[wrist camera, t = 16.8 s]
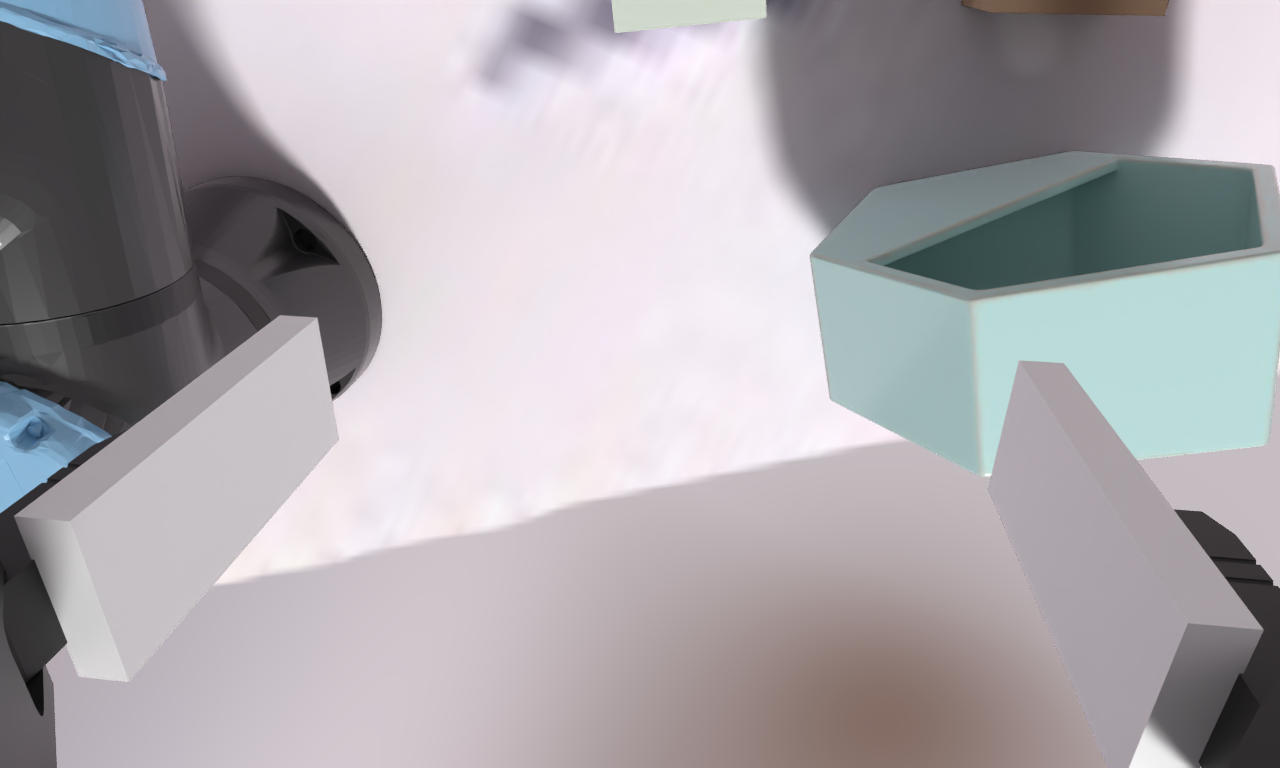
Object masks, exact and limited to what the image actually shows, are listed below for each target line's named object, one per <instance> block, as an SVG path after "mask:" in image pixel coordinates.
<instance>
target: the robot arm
mask: <svg viewBox="0 0 1280 768" xmlns="http://www.w3.org/2000/svg"><path fill="white" fill-rule="evenodd" d="M163 81H167V78H166V73H165V71H164V69H163V68H162V66H160V65H159V64H158V63H157V59H156V55H155V51H154V47H153V42H152V38H151V34H150V30H149V26H148V22H147V18H146V14H145V10H144V6H143V1H142V0H0V768H57V761H56V737H55V716H54V715H55V713H54V689H53V682H52V680H51V678H50V675H49V673H48V670H47V668H46V666H45V665H46V664H47V663H48V661H50V659H52V658H53V657H54V656H55V655H56V654H57V653H58V652H59V651H60V650H61V648H63V647H64V646H65V645H66V647H67V649H68V651H69V654H70V656H71V659H72V661H73V663H74V666H75V669H76V671H77V674H78V676H79V677H88V678H97V679H107V680H115V681H124V682H130V681H131V679H132V678H133V677H134V676H135V675H136V674H137V672H138V671H139V670H140V669H141V668H142V667H143V665H144V664H145V663H146V662H147V661H148V660H149V659H150V657H151V656H152V655H153V654H154V653H155V652H156V650H157V649H158V648H159V647H160V646H161V645H162V643H163V642H164V641H165V640H166V639H167V638H168V636H169V635H170V634H171V633H172V632H173V631H174V630H175V628H176V627H177V626H178V625H179V624H180V623H181V621H182V620H183V619H184V618H185V617H186V616H187V615H188V613H189V612H190V611H191V610H192V609H193V608H194V606H195V605H196V604H197V603H198V602H199V601H200V600H201V598H202V597H203V596H204V595H205V594H206V593H207V591H208V590H209V589H210V588H211V587H212V586H213V585H214V583H215V582H216V581H217V580H218V579H219V578H220V576H221V575H222V574H223V573H224V572H225V571H226V569H227V568H228V567H229V566H230V565H231V564H232V563H233V561H234V560H235V559H236V558H237V557H238V556H239V554H240V553H241V552H242V551H243V550H244V549H245V547H246V546H247V545H248V544H249V543H250V542H251V541H252V539H253V538H254V537H255V536H256V535H257V534H258V532H259V531H260V530H261V529H262V528H263V527H264V525H265V524H266V523H267V522H268V521H269V520H270V519H271V517H272V516H273V515H274V514H275V513H276V512H277V510H278V509H279V508H280V507H281V506H282V505H283V504H284V502H285V501H286V500H287V499H288V498H289V497H290V495H291V494H292V493H293V492H294V491H295V490H296V488H297V487H298V486H299V485H300V484H301V483H302V482H303V480H304V479H305V478H306V477H307V476H308V475H309V473H310V472H311V471H312V470H313V469H314V468H315V466H316V465H317V464H318V463H319V462H320V461H321V460H322V458H323V457H324V456H325V455H326V454H327V453H328V451H329V450H330V449H331V448H332V447H333V446H334V444H335V443H336V442H337V441H338V440H339V437H338V431H337V425H336V420H335V414H334V409H333V403H332V401H334V400H335V399H337V398H338V397H339V396H341V395H342V394H343V393H344V392H345V391H346V390H347V389H348V388H349V387H350V386H351V385H352V384H353V383H354V382H355V381H356V380H357V379H358V378H359V377H360V376H361V375H362V373H363V372H364V371H365V370H366V368H367V367H368V365H369V364H370V362H371V360H372V359H373V357H374V354H375V352H376V350H377V346H378V343H379V339H380V335H381V328H382V309H381V301H380V295H379V291H378V287H377V284H376V281H375V278H374V275H373V273H372V270H371V268H370V266H369V264H368V262H367V260H366V258H365V256H364V254H363V253H362V251H361V250H360V248H359V246H358V245H357V243H356V242H355V241H354V239H353V238H352V237H351V235H350V234H349V233H348V232H347V231H346V230H345V228H344V227H343V226H342V225H341V224H340V223H339V222H338V221H337V220H336V219H335V218H334V217H333V216H331V215H330V214H329V213H328V212H327V211H326V210H324V209H323V208H322V207H320V206H319V205H318V204H316V203H315V202H313V201H312V200H310V199H309V198H307V197H305V196H304V195H302V194H300V193H298V192H296V191H294V190H292V189H290V188H288V187H285V186H282V185H280V184H277V183H274V182H270V181H267V180H262V179H257V178H250V177H224V178H218V179H214V180H210V181H206V182H204V183H201V184H198V185H196V186H194V187H191V188H189V189H186V190H184V191H183V188H182V182H181V177H180V171H179V166H178V161H177V155H176V150H175V145H174V139H173V134H172V128H171V123H170V118H169V112H168V107H167V102H166V96H165V91H164V85H163ZM988 491H989V493H990V495H991V498H992V500H993V502H994V505H995V507H996V509H997V512H998V514H999V516H1000V519H1001V521H1002V523H1003V526H1004V528H1005V530H1006V533H1007V535H1008V537H1009V539H1010V542H1011V544H1012V547H1013V549H1014V551H1015V553H1016V556H1017V558H1018V561H1019V562H1020V565H1021V567H1022V570H1023V572H1024V574H1025V577H1026V579H1027V581H1028V583H1029V586H1030V588H1031V590H1032V593H1033V595H1034V597H1035V600H1036V602H1037V604H1038V607H1039V609H1040V612H1041V614H1042V616H1043V619H1044V621H1045V623H1046V626H1047V628H1048V630H1049V633H1050V635H1051V637H1052V639H1053V642H1054V644H1055V647H1056V649H1057V651H1058V653H1059V656H1060V658H1061V660H1062V663H1063V665H1064V667H1065V670H1066V672H1067V674H1068V677H1069V679H1070V681H1071V684H1072V686H1073V688H1074V691H1075V693H1076V695H1077V697H1078V700H1079V702H1080V705H1081V707H1082V709H1083V711H1084V714H1085V716H1086V719H1087V721H1088V723H1089V726H1090V728H1091V730H1092V733H1093V735H1094V737H1095V739H1096V742H1097V744H1098V746H1099V749H1100V751H1101V753H1102V756H1103V758H1104V760H1105V763H1106V765H1107V767H1108V768H1200V766H1201V767H1202V768H1280V588H1279V587H1278V586H1273V580H1272V579H1271V578H1270V576H1269V575H1268V574H1267V573H1266V571H1265V570H1264V569H1263V568H1262V567H1261V565H1256V559H1255V558H1254V557H1253V556H1252V554H1251V553H1250V552H1249V551H1248V550H1247V548H1246V547H1245V546H1244V545H1243V543H1242V542H1241V541H1240V540H1239V539H1238V537H1237V536H1236V535H1235V534H1234V533H1232V532H1231V531H1229V530H1228V529H1226V528H1225V527H1223V526H1222V525H1221V524H1219V523H1218V522H1216V521H1215V520H1213V519H1212V518H1210V517H1209V516H1208V515H1206V514H1205V513H1203V512H1199V511H1186V510H1174V509H1173V508H1172V507H1171V506H1170V504H1169V503H1168V501H1167V500H1166V499H1165V497H1164V496H1163V495H1162V493H1161V492H1160V491H1159V489H1158V488H1157V487H1156V485H1155V484H1154V483H1153V481H1152V480H1151V479H1150V477H1149V476H1148V475H1147V473H1146V472H1145V471H1144V469H1143V468H1142V467H1141V466H1140V464H1139V463H1138V461H1137V460H1136V459H1135V457H1134V456H1133V455H1132V453H1131V452H1130V451H1129V449H1128V448H1127V447H1126V445H1125V444H1124V443H1123V441H1122V440H1121V439H1120V437H1119V436H1118V435H1117V433H1116V432H1115V431H1114V429H1113V428H1112V427H1111V425H1110V424H1109V423H1108V421H1107V420H1106V419H1105V417H1104V416H1103V415H1102V413H1101V412H1100V411H1099V409H1098V408H1097V407H1096V405H1095V404H1094V403H1093V401H1092V400H1091V399H1090V397H1089V396H1088V395H1087V393H1086V392H1085V391H1084V389H1083V388H1082V387H1081V385H1080V384H1079V383H1078V381H1077V380H1076V379H1075V377H1074V376H1073V375H1072V373H1071V372H1070V371H1069V369H1068V368H1067V367H1066V365H1065V364H1064V363H1053V362H1037V361H1021V360H1019V362H1018V366H1017V370H1016V375H1015V379H1014V383H1013V387H1012V391H1011V395H1010V399H1009V404H1008V408H1007V412H1006V416H1005V420H1004V424H1003V428H1002V433H1001V437H1000V441H999V445H998V449H997V453H996V457H995V462H994V466H993V470H992V474H991V479H990V482H989V486H988Z"/></svg>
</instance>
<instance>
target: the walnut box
mask: <svg viewBox="0 0 1280 768" xmlns="http://www.w3.org/2000/svg"><path fill="white" fill-rule="evenodd" d="M1168 2H1169V0H962V3H961V5H963V6H967V7H971V8H975V9H979V10H983V11H987V12H991V13H1041V14H1094V15H1146V16H1165V13H1166V9H1167V5H1168Z"/></svg>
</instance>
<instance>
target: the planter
mask: <svg viewBox="0 0 1280 768" xmlns="http://www.w3.org/2000/svg"><path fill="white" fill-rule="evenodd" d="M810 262H811V269H812V276H813V283H814V290H815V297H816V304H817V311H818V318H819V325H820V332H821V339H822V346H823V353H824V360H825V367H826V374H827V381H828V388H829V395H830V399H831V401H833V402H835V403H837V404H839V405H841V406H843V407H845V408H847V409H848V410H850V411H852V412H854V413H856V414H858V415H860V416H862V417H864V418H866V419H868V420H870V421H872V422H874V423H876V424H878V425H880V426H882V427H884V428H886V429H888V430H890V431H892V432H894V433H896V434H898V435H899V436H901V437H903V438H905V439H907V440H909V441H911V442H913V443H915V444H917V445H919V446H921V447H923V448H925V449H927V450H929V451H931V452H933V453H935V454H937V455H939V456H941V457H943V458H945V459H947V460H949V461H950V462H953V463H955V464H957V465H958V466H960V467H962V468H964V469H966V470H968V471H970V472H972V473H974V474H976V475H978V476H981V477H989V476H991V474H992V470H993V466H994V462H995V457H996V453H997V449H998V445H999V441H1000V437H1001V433H1002V428H1003V424H1004V420H1005V416H1006V412H1007V408H1008V404H1009V399H1010V395H1011V391H1012V387H1013V383H1014V379H1015V375H1016V370H1017V366H1018V362H1019V360H1021V361H1037V362H1053V363H1064V364H1065V365H1066V367H1067V368H1068V369H1069V371H1070V372H1071V373H1072V375H1073V376H1074V377H1075V379H1076V380H1077V381H1078V383H1079V384H1080V385H1081V387H1082V388H1083V389H1084V391H1085V392H1086V393H1087V395H1088V396H1089V397H1090V399H1091V400H1092V401H1093V403H1094V404H1095V405H1096V407H1097V408H1098V409H1099V411H1100V412H1101V413H1102V415H1103V416H1104V417H1105V419H1106V420H1107V421H1108V423H1109V424H1110V425H1111V427H1112V428H1113V429H1114V431H1115V432H1116V433H1117V435H1118V436H1119V437H1120V439H1121V440H1122V441H1123V443H1124V444H1125V445H1126V447H1127V448H1128V449H1129V451H1130V452H1131V453H1132V455H1133V456H1134V457H1135V459H1136V460H1141V459H1150V458H1159V457H1168V456H1177V455H1186V454H1195V453H1204V452H1213V451H1222V450H1231V449H1240V448H1248V447H1257V446H1263V445H1266V444H1267V443H1268V442H1269V439H1270V431H1271V422H1272V413H1273V404H1274V395H1275V386H1276V378H1277V369H1278V360H1279V352H1280V193H1279V187H1278V182H1277V177H1276V172H1275V168H1274V166H1272V165H1264V164H1251V163H1237V162H1223V161H1209V160H1195V159H1182V158H1168V157H1154V156H1140V155H1126V154H1112V153H1099V152H1084V151H1069V152H1063V153H1058V154H1053V155H1047V156H1042V157H1036V158H1031V159H1026V160H1020V161H1015V162H1009V163H1004V164H999V165H993V166H988V167H982V168H977V169H972V170H966V171H961V172H955V173H950V174H945V175H939V176H934V177H928V178H923V179H918V180H912V181H907V182H901V183H896V184H891V185H886V186H881V187H877V188H875V189H873V190H872V191H871V192H870V193H869V194H868V195H867V196H866V197H865V198H864V199H863V200H862V201H861V202H860V203H859V204H858V205H857V206H856V207H855V208H854V209H853V210H852V211H851V212H850V213H849V214H848V215H847V216H846V217H845V218H844V219H843V220H842V221H841V222H840V223H839V224H838V225H837V226H836V228H835V229H834V230H833V231H832V232H831V233H830V234H829V235H828V236H827V237H826V238H825V239H824V240H823V241H822V242H821V243H820V244H819V245H818V246H817V247H816V248H815V249H814V250H813V251H812V252H811V254H810Z"/></svg>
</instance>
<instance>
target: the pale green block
mask: <svg viewBox="0 0 1280 768" xmlns="http://www.w3.org/2000/svg"><path fill="white" fill-rule="evenodd" d="M766 5H768V0H612V10H613V19H614V29H615V33H620V32H630V31H640V30H650V29H660V28H670V27H680V26H690V25H700V24H710V23H720V22H730V21H740V20H750V19H760V18H766Z"/></svg>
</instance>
